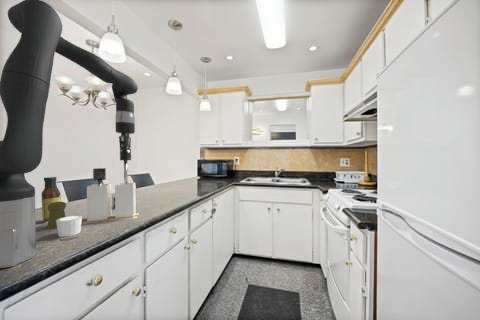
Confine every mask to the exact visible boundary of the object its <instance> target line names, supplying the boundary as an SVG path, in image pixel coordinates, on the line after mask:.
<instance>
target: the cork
mask: <svg viewBox="0 0 480 320" xmlns="http://www.w3.org/2000/svg"><path fill="white" fill-rule="evenodd" d="M66 207H67V204H66V202H65V201H61V202H53V203H50V204H49V205H48V210H49V211H50V213H49V219H48V221H47V226H46V228H47V229H48V230H49V229H51V230H52V229H57V223H56V220H57V219H60V218H63V217H66V213H65V209H66Z"/></svg>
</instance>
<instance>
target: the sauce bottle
mask: <svg viewBox="0 0 480 320" xmlns="http://www.w3.org/2000/svg"><path fill="white" fill-rule="evenodd" d="M57 179H58V178H57V176H47V177H46V176H45V177H43V181H44V188H43V190H42V191H41V215H42V222H43V223H48V219H49V213H50V211H49V210H48V205H49V204H50V203H53V202H62V194H61V191H60V190H59V188H58V186H57Z"/></svg>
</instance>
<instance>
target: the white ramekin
mask: <svg viewBox="0 0 480 320" xmlns="http://www.w3.org/2000/svg"><path fill="white" fill-rule="evenodd" d="M82 221H83V216H82V215H68V216H65V217H63V218H60V219H57V220H56V223H57V228H56V229H57V235H58V237H59V238H60V239H58V240H59V242H64V241H65V242H66V241H72V240H75V239H77V238H79V236H75V237H72V236H74V235H78V234H79V233H81V230H82V229H81V228H82V223H83V222H82ZM70 236H71V237H70ZM61 237H63V238H61ZM64 237H66V238H64ZM67 237H68V238H67Z"/></svg>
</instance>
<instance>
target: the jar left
mask: <svg viewBox="0 0 480 320" xmlns="http://www.w3.org/2000/svg"><path fill="white" fill-rule="evenodd" d="M111 215H112V183H102V186H98V183H96V184H93V183H92V184H90V185H87V186H86V216H87V217H86V220H87V222H96V221H105V220H108V219H109V218H110V217H111Z"/></svg>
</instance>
